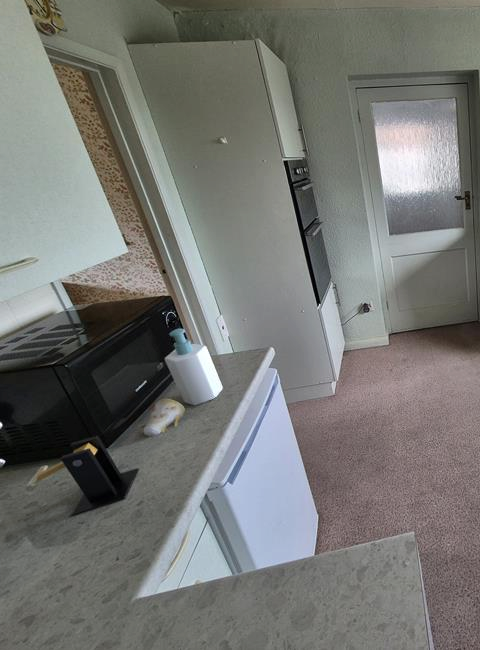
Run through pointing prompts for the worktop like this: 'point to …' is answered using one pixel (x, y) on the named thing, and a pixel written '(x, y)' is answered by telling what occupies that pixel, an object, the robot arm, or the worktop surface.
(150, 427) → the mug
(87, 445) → the tap lever
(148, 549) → the worktop surface
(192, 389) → the soap bottle
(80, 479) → the bracket
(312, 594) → the worktop surface
